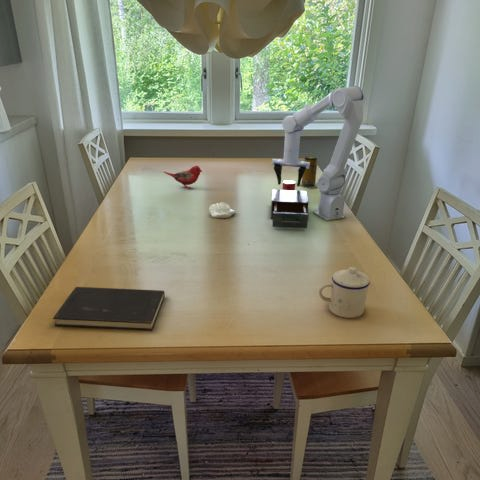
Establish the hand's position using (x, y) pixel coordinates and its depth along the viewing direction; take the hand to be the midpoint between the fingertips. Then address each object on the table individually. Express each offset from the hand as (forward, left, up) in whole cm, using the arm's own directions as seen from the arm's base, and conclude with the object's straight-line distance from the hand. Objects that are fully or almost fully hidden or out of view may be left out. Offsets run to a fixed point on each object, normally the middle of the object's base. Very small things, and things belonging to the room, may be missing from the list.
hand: (288, 184), depth 190 cm
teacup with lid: (-80, +29, -7) cm, 85 cm away
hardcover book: (-59, +82, -7) cm, 101 cm away
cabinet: (-12, +6, -7) cm, 15 cm away
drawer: (-23, +12, -6) cm, 27 cm away
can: (0, 0, -7) cm, 7 cm away
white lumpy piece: (-4, +30, -7) cm, 31 cm away
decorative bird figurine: (+32, +33, -7) cm, 47 cm away
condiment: (+17, -21, -7) cm, 28 cm away
